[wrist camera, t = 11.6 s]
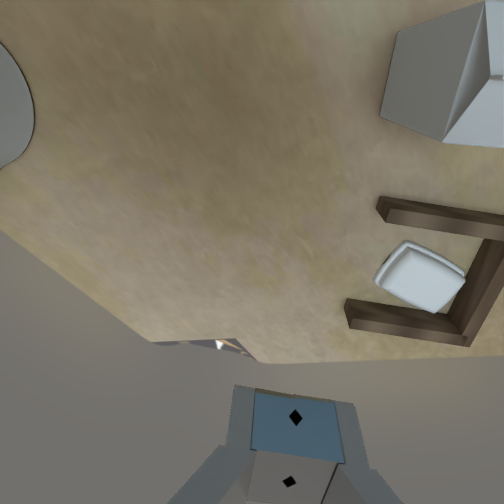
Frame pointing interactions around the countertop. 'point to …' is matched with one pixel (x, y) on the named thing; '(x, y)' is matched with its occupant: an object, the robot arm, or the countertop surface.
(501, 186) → the countertop surface
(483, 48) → the milk carton
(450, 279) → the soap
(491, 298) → the brown wooden u-shaped frame
